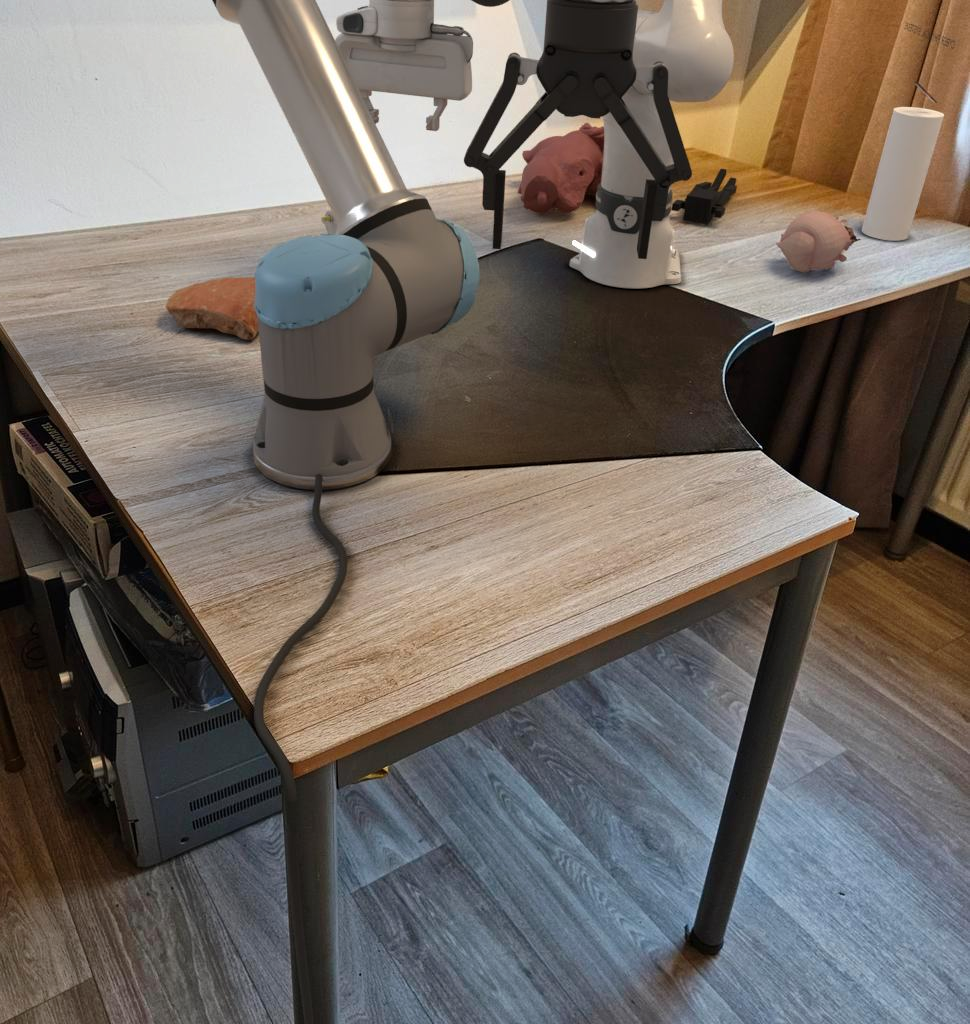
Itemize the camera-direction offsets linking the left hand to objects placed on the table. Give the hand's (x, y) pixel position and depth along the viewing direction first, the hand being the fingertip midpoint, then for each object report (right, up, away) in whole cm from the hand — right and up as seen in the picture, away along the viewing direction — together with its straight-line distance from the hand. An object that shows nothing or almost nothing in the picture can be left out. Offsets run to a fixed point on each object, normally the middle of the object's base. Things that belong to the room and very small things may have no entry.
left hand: (569, 249), depth 91 cm
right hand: (-20, +32, +50) cm, 62 cm away
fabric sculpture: (+10, +37, +101) cm, 108 cm away
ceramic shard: (-45, +3, +48) cm, 66 cm away
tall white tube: (+68, +29, +94) cm, 120 cm away
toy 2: (+48, +18, +76) cm, 92 cm away
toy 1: (+38, +38, +105) cm, 118 cm away
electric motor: (-34, +23, +77) cm, 87 cm away
